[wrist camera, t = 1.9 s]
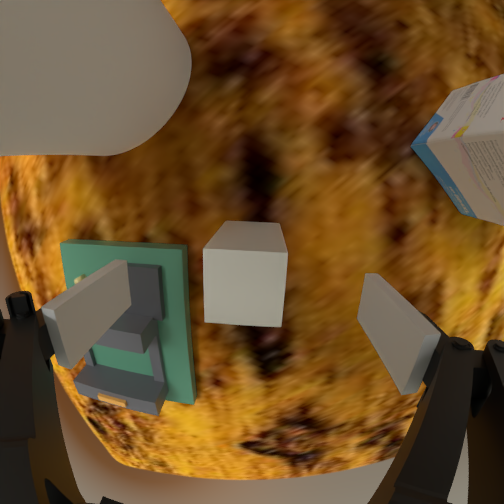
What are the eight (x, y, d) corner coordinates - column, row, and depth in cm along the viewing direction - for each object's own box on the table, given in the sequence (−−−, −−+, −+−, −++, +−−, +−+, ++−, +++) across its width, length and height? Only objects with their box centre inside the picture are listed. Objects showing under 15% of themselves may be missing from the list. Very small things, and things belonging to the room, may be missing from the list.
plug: (225, 220, 21) (203, 248, 13) (279, 223, 21) (288, 253, 13) (224, 272, 22) (204, 324, 14) (275, 275, 22) (281, 329, 14)
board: (69, 239, 22) (32, 255, 17) (187, 244, 21) (164, 267, 16) (98, 374, 26) (77, 404, 21) (197, 394, 26) (185, 432, 21)
